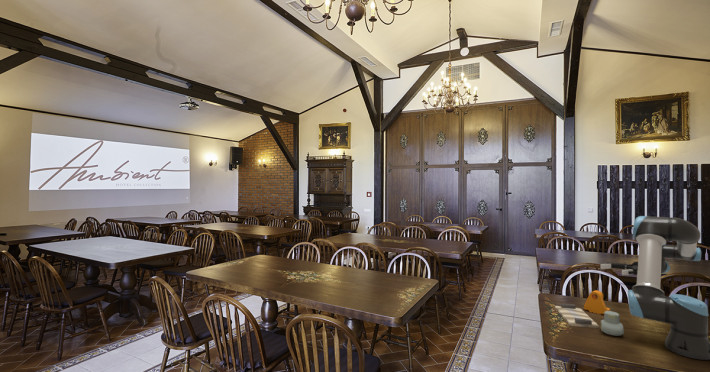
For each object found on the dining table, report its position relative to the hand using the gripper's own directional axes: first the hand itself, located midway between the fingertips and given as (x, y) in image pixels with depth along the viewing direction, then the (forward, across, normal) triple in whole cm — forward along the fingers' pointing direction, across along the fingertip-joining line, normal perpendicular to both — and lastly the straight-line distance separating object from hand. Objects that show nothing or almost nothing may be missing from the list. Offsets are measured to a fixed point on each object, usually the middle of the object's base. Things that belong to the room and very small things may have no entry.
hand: (611, 269), depth 196 cm
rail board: (+29, -6, -24) cm, 38 cm away
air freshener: (+27, -26, -24) cm, 45 cm away
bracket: (+10, 0, -24) cm, 26 cm away
